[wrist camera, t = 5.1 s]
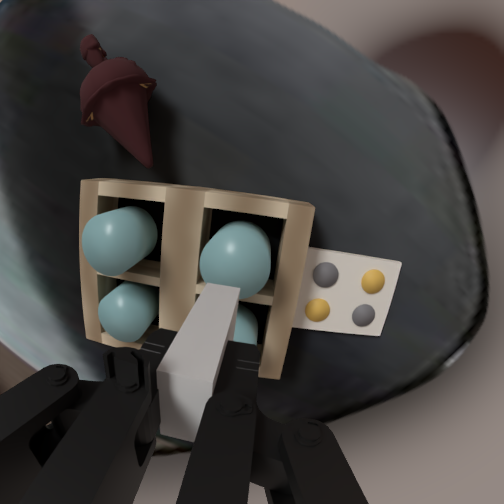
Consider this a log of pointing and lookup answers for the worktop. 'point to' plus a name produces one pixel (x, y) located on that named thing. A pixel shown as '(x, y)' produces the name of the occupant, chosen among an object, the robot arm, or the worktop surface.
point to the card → (345, 292)
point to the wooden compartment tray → (197, 258)
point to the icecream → (117, 99)
